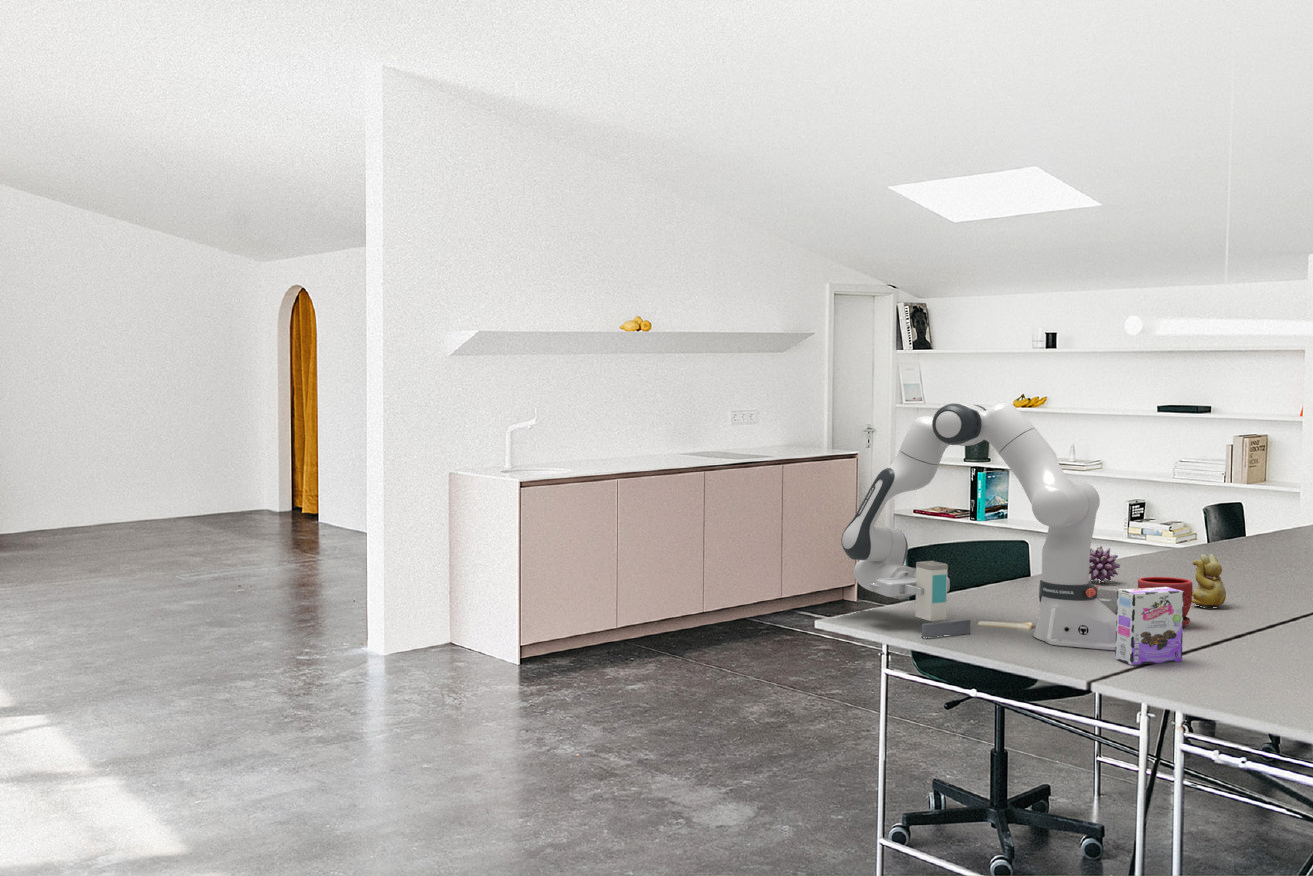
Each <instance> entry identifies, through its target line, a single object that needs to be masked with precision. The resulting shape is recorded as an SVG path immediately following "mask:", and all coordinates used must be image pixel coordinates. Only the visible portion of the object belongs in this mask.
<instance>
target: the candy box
mask: <svg viewBox="0 0 1313 876" xmlns="http://www.w3.org/2000/svg"><path fill="white" fill-rule="evenodd" d="M1116 590H1117V592H1116V594H1117V595H1116V615H1117V617H1116V647H1115V650H1114V652H1115V653H1114V659H1115V660H1117V661H1119V662H1123V663H1125V664H1128V665H1130V666H1135V665H1136V666H1138V665H1149V664H1164V663H1177V662H1179V663H1180V662H1183V635H1184V634H1183V633H1184V632H1183V631H1184V629H1183V628H1184V626H1183V595H1184V591H1181V590H1177V589H1173V588H1169V587H1157V588H1139V589H1138V588H1117V589H1116Z"/></svg>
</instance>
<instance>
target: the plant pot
mask: <svg viewBox="0 0 1313 876" xmlns="http://www.w3.org/2000/svg"><path fill="white" fill-rule="evenodd" d="M1157 587H1169V588H1173V589H1177V590H1181V591H1184V595H1183V627H1185V626H1187V625H1189V624H1190V622H1191V619H1190V617H1188V616H1187V615H1188V614H1189V611H1190V609H1191V607H1192V606H1191V605H1192V598H1193V596H1192V591H1193V590H1194V589H1193V581H1192V580H1190V579H1187V578H1180V577H1170V576H1169V577H1168V576H1149V577H1148V576H1147V577H1141V578H1138V579H1137V589H1139V588H1157Z"/></svg>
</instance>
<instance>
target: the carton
mask: <svg viewBox="0 0 1313 876" xmlns="http://www.w3.org/2000/svg"><path fill="white" fill-rule="evenodd" d="M915 563H916V564H915V568H916V587H922V588H924V595H915V613H914V614H915V617H916V618H919V619H923V620H926V621H929V622H935V621H936V622H937V621H944V620H945V621H946V620H947V613H948V612H947V609H948V606H947V605H948V603H947V602H948V592H947V577H948V569H949V565H948V564H947V563H944V562H939V561H935V560H925V561H916V562H915Z"/></svg>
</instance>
